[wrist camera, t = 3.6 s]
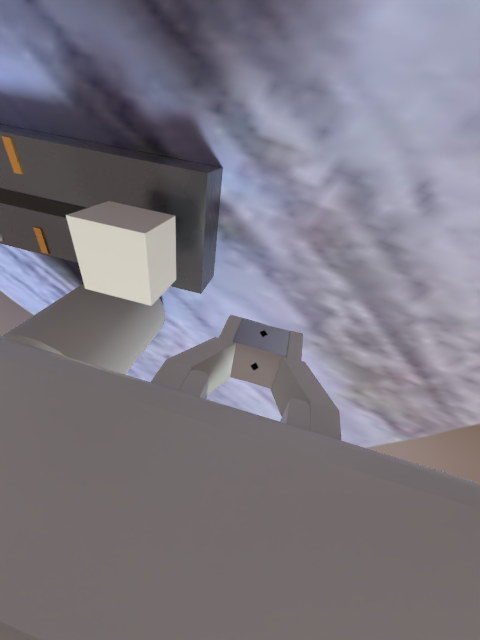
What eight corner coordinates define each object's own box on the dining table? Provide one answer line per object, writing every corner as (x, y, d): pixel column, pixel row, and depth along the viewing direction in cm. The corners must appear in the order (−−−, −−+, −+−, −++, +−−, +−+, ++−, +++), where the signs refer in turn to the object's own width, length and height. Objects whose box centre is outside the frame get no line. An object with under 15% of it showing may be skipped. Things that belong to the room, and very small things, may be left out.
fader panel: (-63, 111, 19) (-118, 108, 17) (222, 167, 17) (206, 173, 14) (-13, 221, 24) (-51, 231, 21) (213, 276, 22) (200, 294, 19)
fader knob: (127, 194, 16) (65, 215, 12) (188, 208, 16) (145, 233, 12) (134, 255, 18) (85, 288, 14) (187, 268, 18) (151, 305, 14)
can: (150, 342, 28) (68, 446, 19) (89, 300, 27) (-33, 391, 17) (182, 301, 24) (96, 409, 15) (111, 248, 22) (-36, 331, 13)
